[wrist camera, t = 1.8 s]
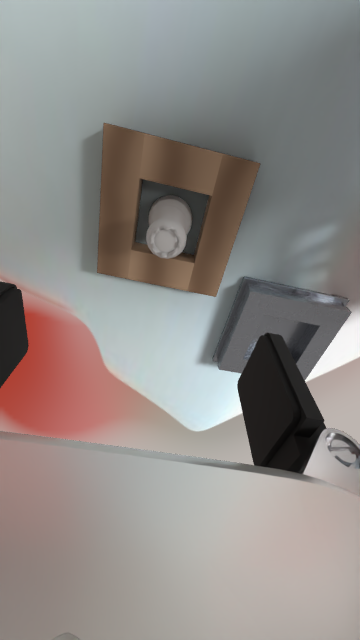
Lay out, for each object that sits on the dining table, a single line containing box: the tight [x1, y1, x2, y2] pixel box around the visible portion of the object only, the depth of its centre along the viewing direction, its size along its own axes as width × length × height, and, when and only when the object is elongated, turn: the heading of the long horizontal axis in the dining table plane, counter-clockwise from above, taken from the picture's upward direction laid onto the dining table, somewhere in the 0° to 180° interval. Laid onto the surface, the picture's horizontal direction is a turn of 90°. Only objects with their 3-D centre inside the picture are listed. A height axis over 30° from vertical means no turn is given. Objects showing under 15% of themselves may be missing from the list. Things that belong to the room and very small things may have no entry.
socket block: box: [97, 123, 260, 297], centre depth 26 cm, size 13×13×2 cm
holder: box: [213, 277, 352, 381], centre depth 34 cm, size 13×13×2 cm
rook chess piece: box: [146, 195, 193, 259], centre depth 24 cm, size 4×4×8 cm
